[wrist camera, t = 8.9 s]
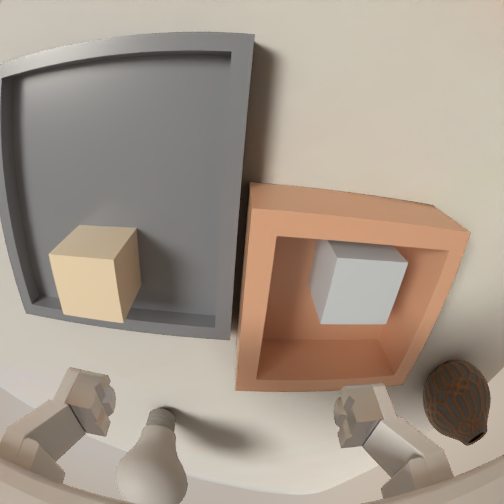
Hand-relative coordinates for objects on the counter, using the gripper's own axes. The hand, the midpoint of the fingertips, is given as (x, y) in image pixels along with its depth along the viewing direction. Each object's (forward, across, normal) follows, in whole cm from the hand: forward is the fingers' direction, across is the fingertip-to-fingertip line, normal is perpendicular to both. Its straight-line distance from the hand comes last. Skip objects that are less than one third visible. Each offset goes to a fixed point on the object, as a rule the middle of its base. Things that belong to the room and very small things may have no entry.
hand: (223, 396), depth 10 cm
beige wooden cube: (+10, +8, 0) cm, 13 cm away
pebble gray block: (+10, -7, 0) cm, 12 cm away
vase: (+11, -22, +13) cm, 28 cm away
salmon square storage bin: (+11, -7, +2) cm, 13 cm away
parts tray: (+11, +8, -4) cm, 14 cm away
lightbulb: (+11, +6, +18) cm, 21 cm away
